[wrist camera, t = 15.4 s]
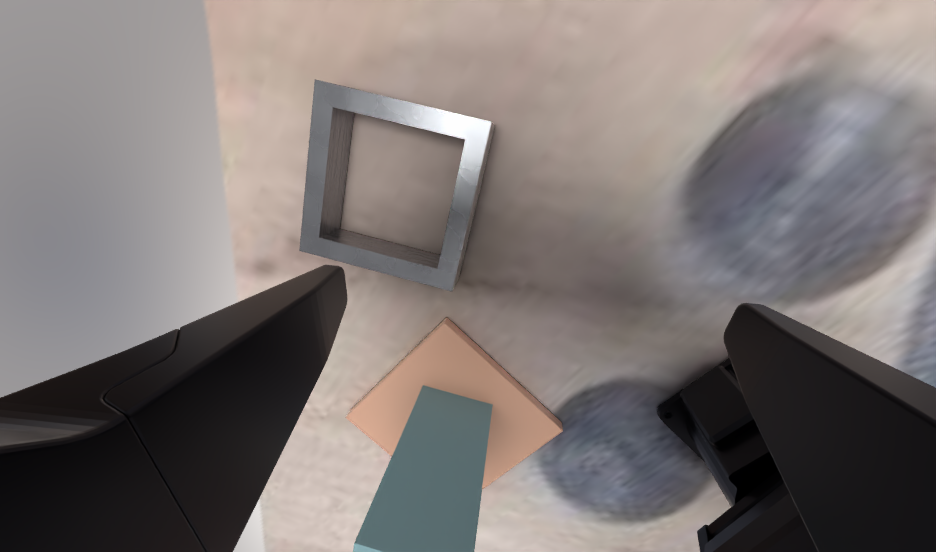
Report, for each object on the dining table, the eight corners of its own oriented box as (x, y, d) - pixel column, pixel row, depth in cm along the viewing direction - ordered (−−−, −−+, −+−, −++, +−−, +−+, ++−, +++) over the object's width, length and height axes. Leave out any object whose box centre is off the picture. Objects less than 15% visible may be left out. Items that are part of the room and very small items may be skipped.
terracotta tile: (561, 422, 25) (562, 431, 24) (456, 499, 28) (454, 509, 27) (446, 317, 24) (444, 322, 23) (350, 410, 27) (345, 417, 26)
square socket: (495, 125, 20) (491, 121, 18) (459, 277, 23) (452, 291, 21) (338, 87, 21) (314, 79, 18) (322, 240, 23) (299, 250, 21)
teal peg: (492, 404, 24) (470, 578, 14) (476, 460, 26) (446, 652, 16) (422, 385, 25) (354, 543, 15) (410, 441, 26) (340, 619, 16)
